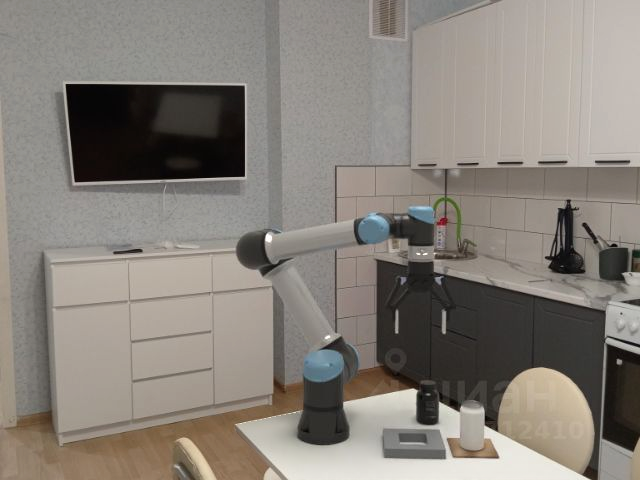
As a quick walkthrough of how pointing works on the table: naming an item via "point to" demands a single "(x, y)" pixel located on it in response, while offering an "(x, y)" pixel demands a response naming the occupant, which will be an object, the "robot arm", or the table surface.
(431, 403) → the supplement bottle
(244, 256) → the robot arm
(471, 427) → the can
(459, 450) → the pad
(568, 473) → the table surface
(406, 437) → the plate
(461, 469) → the table surface
